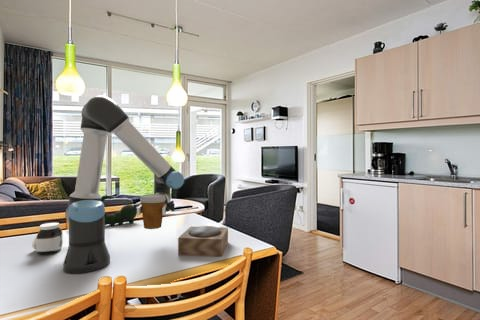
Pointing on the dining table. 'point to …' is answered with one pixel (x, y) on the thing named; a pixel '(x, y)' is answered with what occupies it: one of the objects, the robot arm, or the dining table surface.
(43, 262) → the dining table surface
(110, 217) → the dark green lumpy figure
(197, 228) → the block
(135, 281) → the dining table surface
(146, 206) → the disposable coffee cup
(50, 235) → the spread jar
